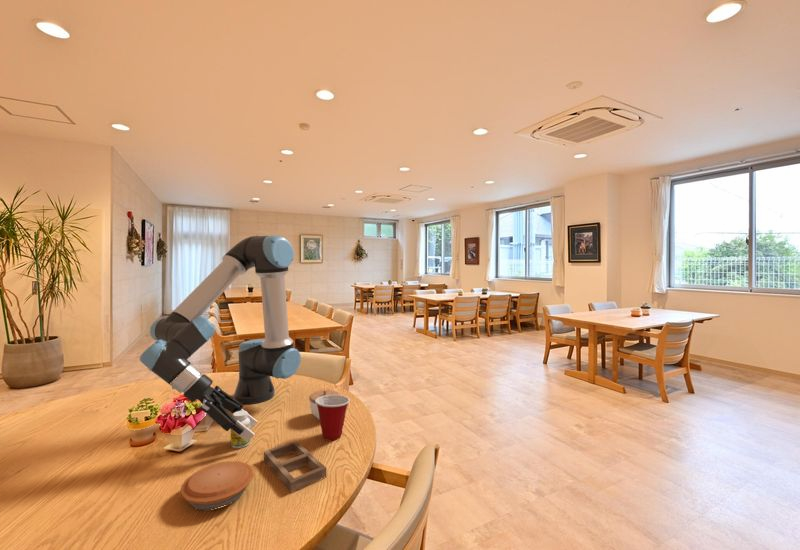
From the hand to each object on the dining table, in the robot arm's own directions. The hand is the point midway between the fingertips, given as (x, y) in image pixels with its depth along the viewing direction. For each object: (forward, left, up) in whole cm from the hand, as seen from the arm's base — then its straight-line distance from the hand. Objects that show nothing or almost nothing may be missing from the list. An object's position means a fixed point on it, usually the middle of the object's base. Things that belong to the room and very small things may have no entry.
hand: (252, 431), depth 108 cm
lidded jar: (-2, +26, -4) cm, 26 cm away
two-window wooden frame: (+21, +4, -4) cm, 21 cm away
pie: (+19, -14, -4) cm, 24 cm away
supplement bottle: (-1, -3, -4) cm, 5 cm away
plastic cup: (+12, +21, -4) cm, 24 cm away
